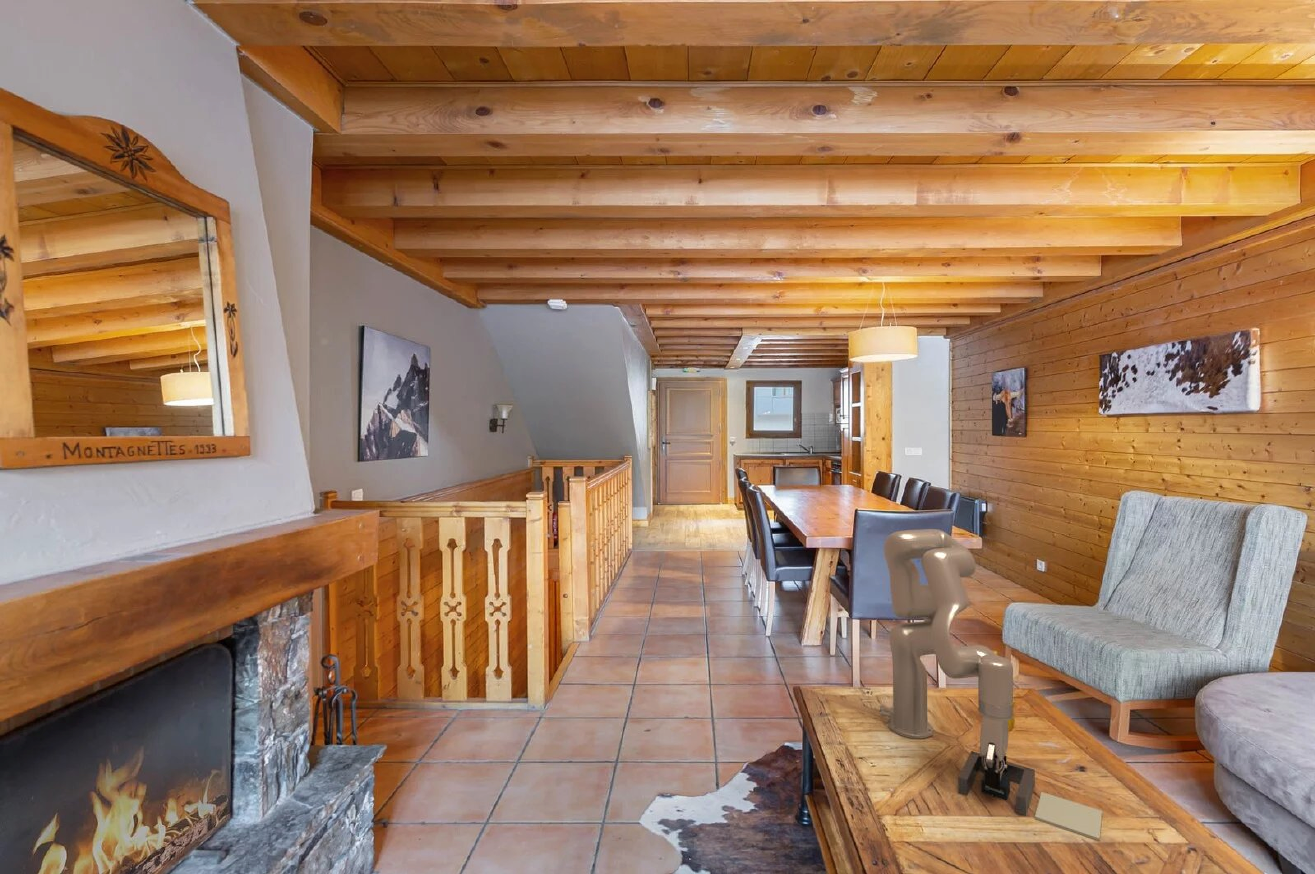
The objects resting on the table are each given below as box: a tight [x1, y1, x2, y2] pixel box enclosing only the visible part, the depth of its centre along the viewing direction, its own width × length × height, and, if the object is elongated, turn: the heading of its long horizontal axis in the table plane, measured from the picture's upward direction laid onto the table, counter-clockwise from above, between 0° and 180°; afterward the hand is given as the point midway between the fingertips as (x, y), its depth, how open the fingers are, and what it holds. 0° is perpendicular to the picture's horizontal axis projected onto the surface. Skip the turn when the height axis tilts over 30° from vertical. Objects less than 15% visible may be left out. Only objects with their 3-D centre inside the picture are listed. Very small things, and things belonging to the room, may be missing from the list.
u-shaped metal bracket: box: [957, 750, 1036, 817], centre depth 150 cm, size 14×15×4 cm
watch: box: [980, 755, 1011, 801], centre depth 148 cm, size 6×8×11 cm
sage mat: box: [1034, 791, 1103, 842], centre depth 139 cm, size 12×12×1 cm
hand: (995, 777), depth 148 cm, fingers closed on watch, 8 cm apart
